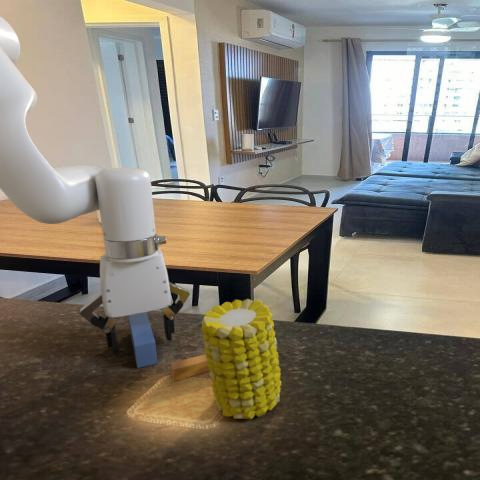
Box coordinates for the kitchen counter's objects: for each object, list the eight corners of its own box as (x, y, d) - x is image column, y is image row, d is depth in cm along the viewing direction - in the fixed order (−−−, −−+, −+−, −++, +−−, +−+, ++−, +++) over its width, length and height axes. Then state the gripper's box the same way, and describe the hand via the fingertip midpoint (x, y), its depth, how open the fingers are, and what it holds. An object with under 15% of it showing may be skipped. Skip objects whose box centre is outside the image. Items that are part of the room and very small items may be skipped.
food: (285, 425, 52) (209, 437, 50) (277, 359, 62) (213, 367, 60) (282, 343, 44) (193, 354, 43) (274, 284, 54) (201, 290, 53)
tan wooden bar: (174, 381, 58) (172, 370, 57) (171, 374, 59) (170, 363, 59) (249, 359, 64) (249, 349, 63) (245, 353, 65) (245, 343, 65)
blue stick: (157, 363, 62) (155, 341, 61) (137, 368, 61) (134, 346, 59) (148, 330, 72) (146, 310, 71) (130, 333, 70) (128, 314, 69)
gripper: (183, 234, 68) (189, 322, 73) (68, 246, 60) (84, 345, 65) (192, 246, 62) (199, 341, 67) (65, 261, 54) (83, 368, 59)
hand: (142, 342), depth 66 cm, fingers open, 7 cm apart
